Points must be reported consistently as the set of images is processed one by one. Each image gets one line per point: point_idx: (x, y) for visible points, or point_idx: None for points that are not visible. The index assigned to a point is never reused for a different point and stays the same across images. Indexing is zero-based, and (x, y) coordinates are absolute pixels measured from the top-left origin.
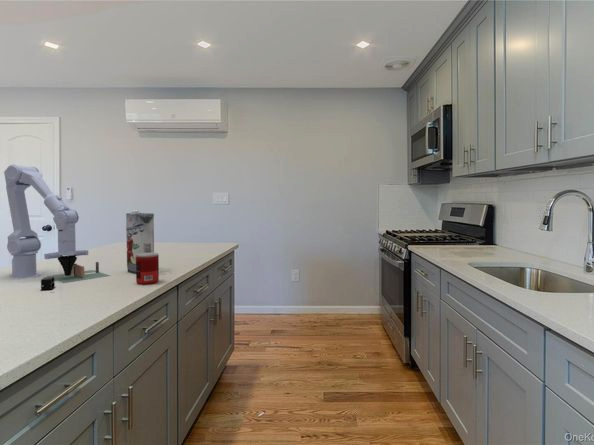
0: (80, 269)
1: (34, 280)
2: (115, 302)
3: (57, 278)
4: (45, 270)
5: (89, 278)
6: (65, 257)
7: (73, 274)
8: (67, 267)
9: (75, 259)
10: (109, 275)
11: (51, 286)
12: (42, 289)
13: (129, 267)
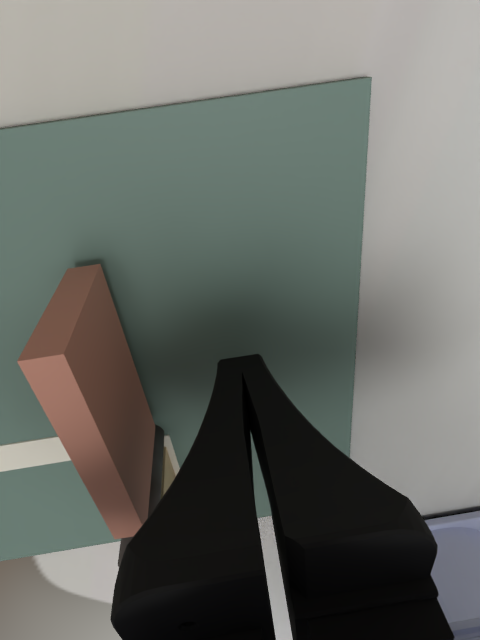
0: (95, 366)
1: (454, 431)
2: None
3: (318, 390)
4: (278, 632)
5: (4, 178)
6: (339, 624)
7: (165, 454)
8: (275, 420)
9: (150, 545)
10: None
11: None
12: None
13: None
